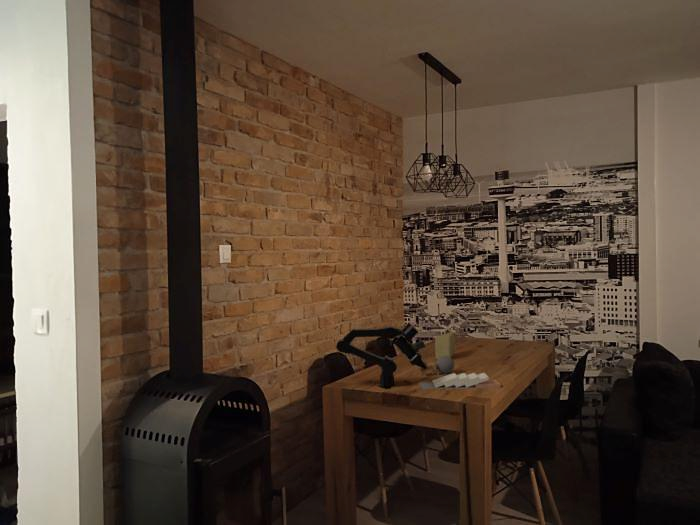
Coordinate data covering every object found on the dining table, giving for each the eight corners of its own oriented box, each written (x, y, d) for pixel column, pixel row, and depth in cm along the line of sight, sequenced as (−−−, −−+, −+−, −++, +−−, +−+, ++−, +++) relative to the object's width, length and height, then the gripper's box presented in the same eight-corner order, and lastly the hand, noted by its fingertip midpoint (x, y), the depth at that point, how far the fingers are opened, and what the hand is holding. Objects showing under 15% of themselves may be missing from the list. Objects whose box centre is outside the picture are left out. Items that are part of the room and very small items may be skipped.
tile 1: (434, 384, 281) (457, 376, 281) (432, 380, 290) (454, 372, 290) (435, 387, 281) (458, 379, 281) (433, 383, 290) (455, 375, 290)
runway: (422, 389, 279) (422, 388, 279) (419, 383, 292) (419, 382, 292) (488, 389, 279) (488, 388, 279) (482, 383, 292) (482, 382, 292)
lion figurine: (419, 377, 307) (419, 360, 307) (414, 375, 312) (414, 359, 312) (442, 374, 313) (442, 358, 312) (437, 373, 318) (437, 356, 317)
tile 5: (475, 384, 280) (500, 384, 280) (472, 379, 290) (495, 379, 290) (475, 387, 280) (500, 387, 280) (472, 383, 290) (495, 382, 290)
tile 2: (444, 384, 281) (467, 376, 280) (441, 380, 290) (464, 372, 290) (445, 387, 281) (468, 379, 280) (443, 383, 290) (465, 375, 290)
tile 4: (465, 384, 281) (488, 376, 280) (461, 380, 290) (484, 372, 290) (466, 387, 281) (489, 379, 280) (462, 383, 290) (485, 375, 290)
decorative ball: (454, 375, 310) (454, 357, 310) (435, 375, 312) (435, 357, 312) (454, 371, 320) (453, 354, 320) (436, 371, 322) (436, 353, 322)
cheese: (446, 353, 378) (446, 330, 378) (460, 354, 373) (460, 331, 373) (434, 359, 358) (434, 335, 358) (449, 360, 354) (449, 336, 353)
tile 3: (454, 384, 281) (478, 376, 280) (451, 380, 290) (474, 372, 290) (456, 387, 281) (479, 379, 280) (453, 383, 290) (475, 375, 290)
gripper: (417, 337, 276) (440, 360, 276) (414, 332, 295) (435, 353, 295) (401, 353, 276) (423, 376, 276) (398, 347, 295) (419, 368, 295)
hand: (426, 368), depth 286 cm, fingers closed
